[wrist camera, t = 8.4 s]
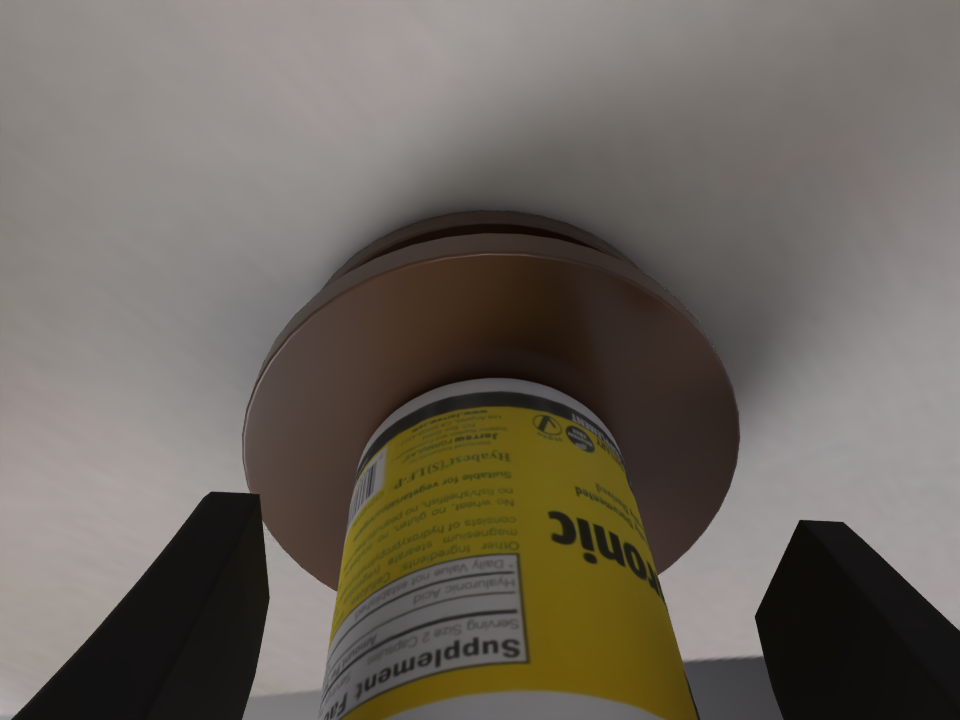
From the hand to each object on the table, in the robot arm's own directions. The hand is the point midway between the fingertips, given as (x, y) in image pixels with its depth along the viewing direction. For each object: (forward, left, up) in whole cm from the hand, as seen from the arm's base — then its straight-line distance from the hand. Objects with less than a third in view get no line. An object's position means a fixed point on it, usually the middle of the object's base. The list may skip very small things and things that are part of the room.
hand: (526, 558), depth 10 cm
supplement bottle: (0, +3, -5) cm, 5 cm away
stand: (0, +3, -7) cm, 8 cm away
